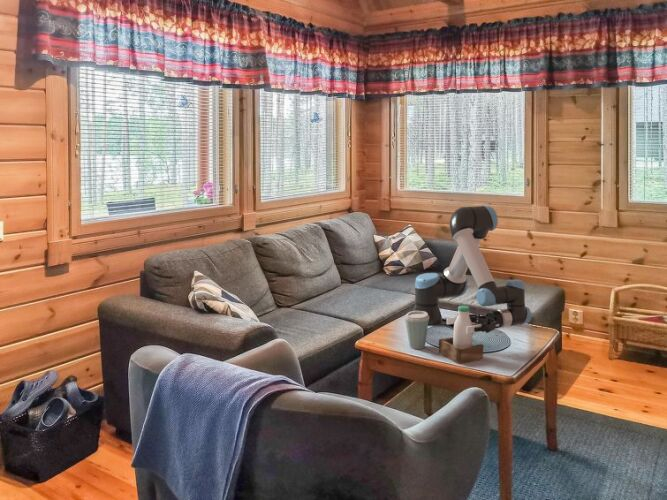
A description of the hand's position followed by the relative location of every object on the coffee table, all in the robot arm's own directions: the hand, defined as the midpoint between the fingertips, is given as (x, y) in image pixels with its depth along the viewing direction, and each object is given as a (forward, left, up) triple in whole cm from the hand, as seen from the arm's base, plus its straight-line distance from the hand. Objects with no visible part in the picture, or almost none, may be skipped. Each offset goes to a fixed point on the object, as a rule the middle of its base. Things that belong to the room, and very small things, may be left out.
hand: (456, 325), depth 244 cm
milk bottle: (0, +3, -13) cm, 13 cm away
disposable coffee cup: (-18, -8, -14) cm, 24 cm away
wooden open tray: (0, +2, -13) cm, 14 cm away
